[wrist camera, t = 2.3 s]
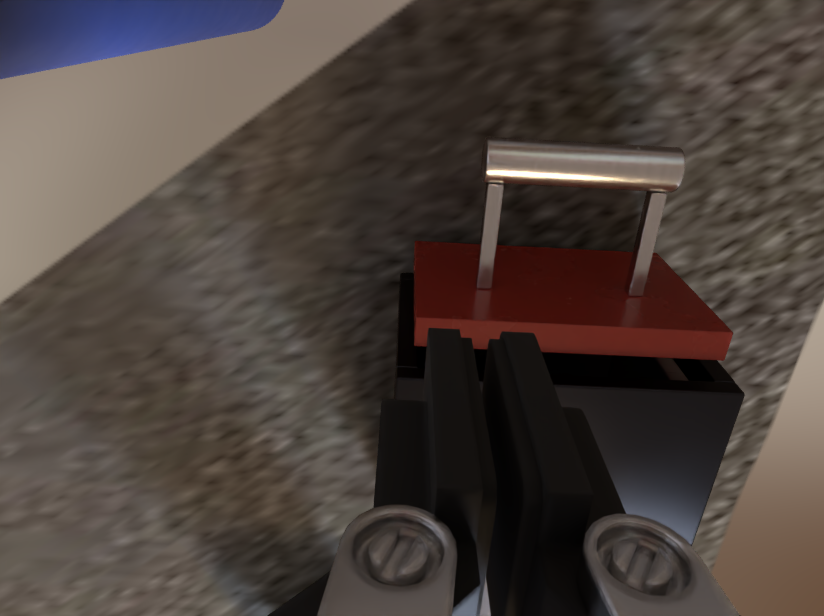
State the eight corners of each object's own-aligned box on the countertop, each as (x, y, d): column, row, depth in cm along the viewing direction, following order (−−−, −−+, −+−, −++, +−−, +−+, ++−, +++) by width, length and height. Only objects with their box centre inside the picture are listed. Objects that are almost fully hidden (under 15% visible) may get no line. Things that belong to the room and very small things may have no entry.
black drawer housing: (400, 271, 31) (395, 377, 22) (653, 284, 31) (746, 394, 22) (389, 496, 37) (382, 646, 28) (598, 505, 37) (653, 656, 29)
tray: (422, 111, 26) (426, 152, 19) (687, 126, 27) (786, 171, 20) (401, 466, 35) (398, 583, 28) (602, 475, 35) (649, 593, 28)
